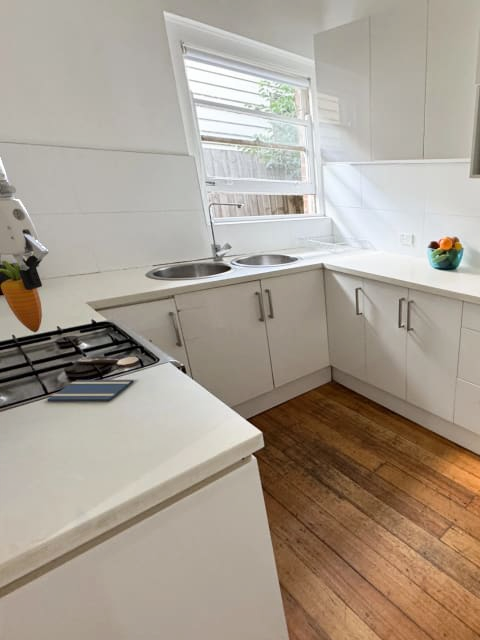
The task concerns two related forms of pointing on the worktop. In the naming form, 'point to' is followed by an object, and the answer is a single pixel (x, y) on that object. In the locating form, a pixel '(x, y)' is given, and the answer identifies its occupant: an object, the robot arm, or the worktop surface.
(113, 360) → the wooden spoon
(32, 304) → the carrot
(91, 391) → the dish cloth
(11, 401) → the worktop surface
